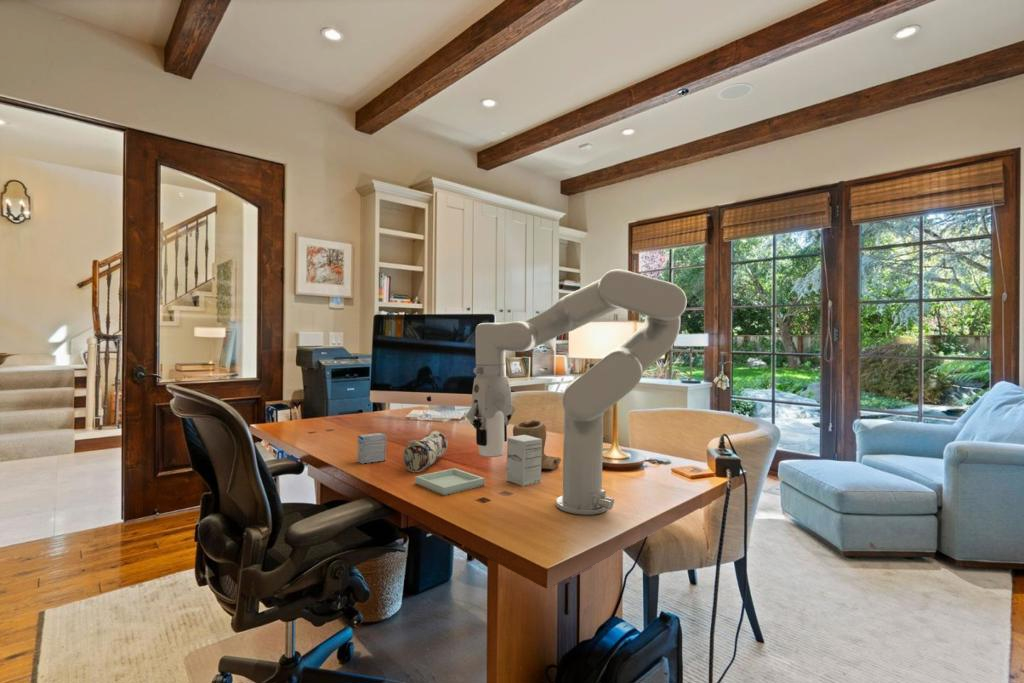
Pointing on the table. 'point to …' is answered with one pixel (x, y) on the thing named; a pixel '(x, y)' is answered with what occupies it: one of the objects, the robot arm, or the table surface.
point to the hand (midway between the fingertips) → (491, 442)
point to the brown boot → (538, 431)
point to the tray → (449, 481)
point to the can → (494, 436)
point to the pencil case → (424, 451)
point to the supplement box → (524, 459)
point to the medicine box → (371, 448)
